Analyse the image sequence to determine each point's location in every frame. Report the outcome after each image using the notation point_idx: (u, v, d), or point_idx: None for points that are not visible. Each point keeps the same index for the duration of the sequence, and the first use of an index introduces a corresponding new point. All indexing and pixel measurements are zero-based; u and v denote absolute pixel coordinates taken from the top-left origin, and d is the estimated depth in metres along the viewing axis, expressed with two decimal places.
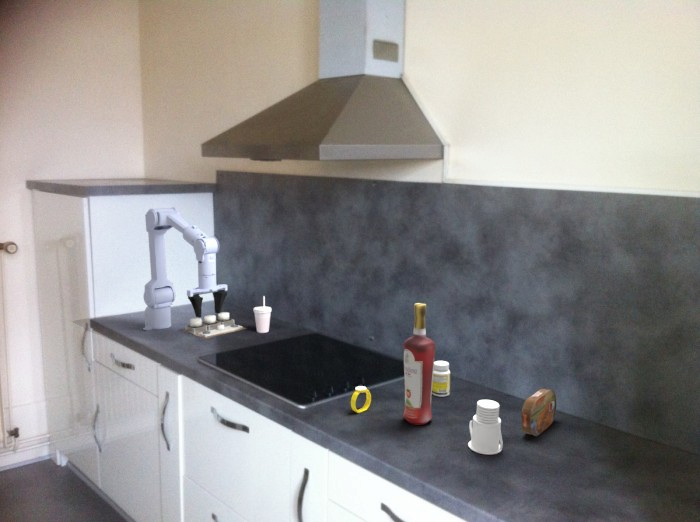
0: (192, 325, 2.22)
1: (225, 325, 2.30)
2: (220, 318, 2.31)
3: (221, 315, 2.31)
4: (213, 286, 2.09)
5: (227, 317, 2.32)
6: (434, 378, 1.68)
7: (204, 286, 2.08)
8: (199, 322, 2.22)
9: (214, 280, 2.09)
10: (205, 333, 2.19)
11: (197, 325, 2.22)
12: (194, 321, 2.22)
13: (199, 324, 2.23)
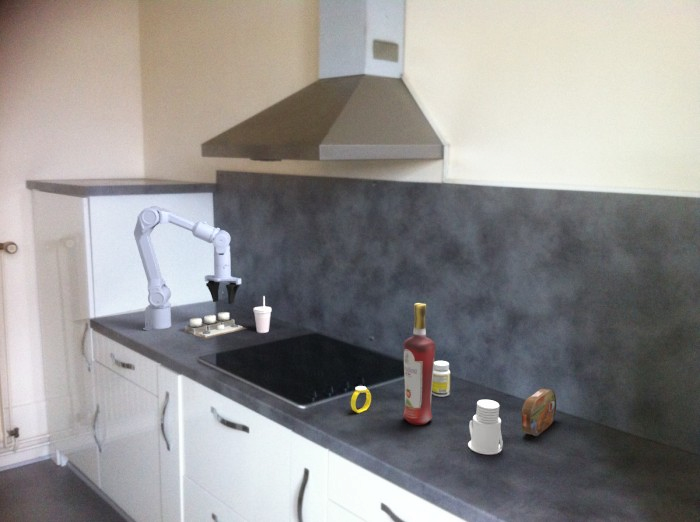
0: (192, 325, 2.22)
1: (225, 325, 2.30)
2: (220, 318, 2.31)
3: (221, 315, 2.31)
4: (218, 276, 2.28)
5: (227, 317, 2.32)
6: (434, 378, 1.68)
7: (214, 275, 2.30)
8: (199, 322, 2.22)
9: (220, 271, 2.27)
10: (205, 333, 2.19)
11: (197, 325, 2.22)
12: (194, 321, 2.22)
13: (199, 324, 2.23)
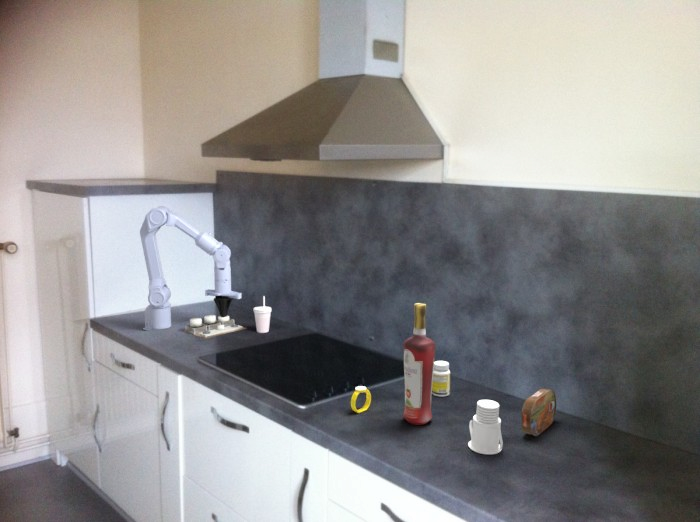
0: (192, 325, 2.22)
1: (225, 325, 2.30)
2: None
3: (221, 318, 2.31)
4: (219, 291, 2.29)
5: (227, 320, 2.32)
6: (434, 378, 1.68)
7: None
8: (199, 322, 2.22)
9: (220, 286, 2.28)
10: (205, 333, 2.19)
11: (197, 325, 2.22)
12: (194, 321, 2.22)
13: (199, 324, 2.23)
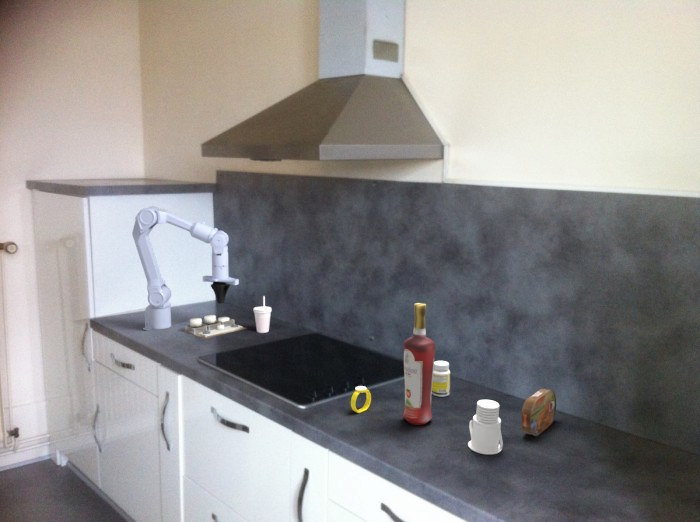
0: (192, 325, 2.22)
1: (225, 325, 2.30)
2: None
3: (221, 320, 2.31)
4: (216, 277, 2.27)
5: None
6: (434, 378, 1.68)
7: (212, 275, 2.29)
8: (199, 322, 2.22)
9: (217, 271, 2.27)
10: (205, 333, 2.19)
11: (197, 325, 2.22)
12: (194, 321, 2.22)
13: (199, 324, 2.23)
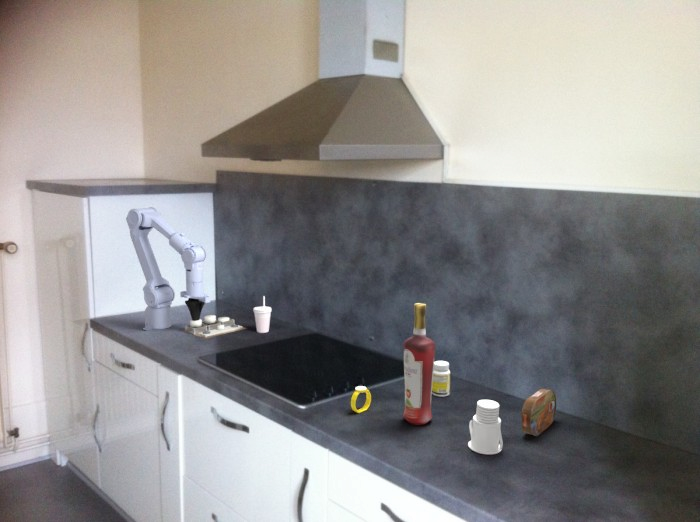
0: (192, 326, 2.22)
1: (225, 325, 2.30)
2: None
3: (221, 320, 2.31)
4: (188, 293, 2.20)
5: None
6: (434, 378, 1.68)
7: None
8: (199, 323, 2.22)
9: (189, 288, 2.19)
10: (205, 333, 2.19)
11: (197, 326, 2.22)
12: (194, 322, 2.22)
13: (199, 325, 2.23)
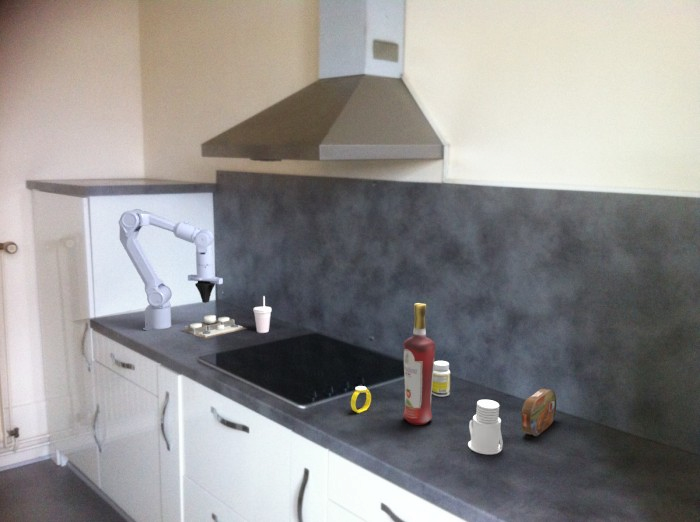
0: None
1: (225, 325, 2.30)
2: None
3: (221, 320, 2.31)
4: (200, 276, 2.26)
5: None
6: (434, 378, 1.68)
7: None
8: None
9: (201, 270, 2.26)
10: (205, 333, 2.19)
11: None
12: (194, 326, 2.22)
13: None
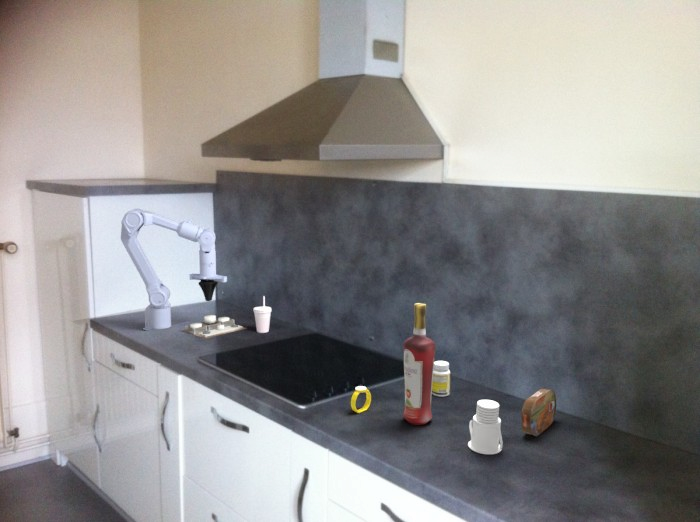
0: None
1: (225, 325, 2.30)
2: None
3: (221, 320, 2.31)
4: (204, 274, 2.28)
5: None
6: (434, 378, 1.68)
7: None
8: None
9: (205, 269, 2.28)
10: (205, 333, 2.19)
11: None
12: (194, 326, 2.22)
13: None
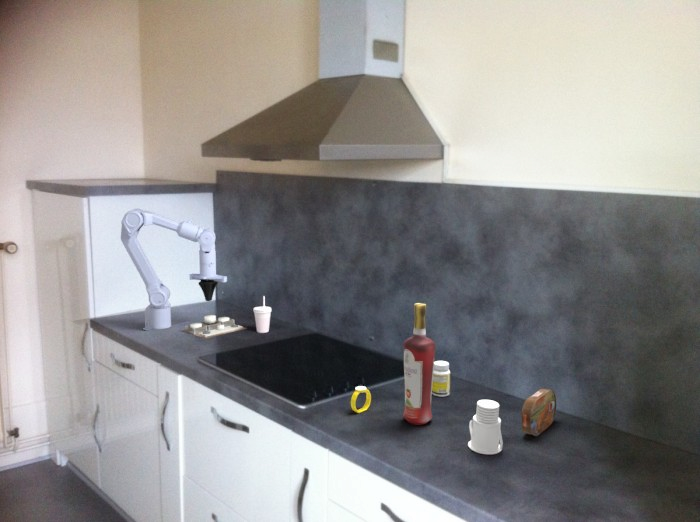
0: None
1: (225, 325, 2.30)
2: None
3: (221, 320, 2.31)
4: (204, 274, 2.28)
5: None
6: (434, 378, 1.68)
7: None
8: None
9: (205, 269, 2.28)
10: (205, 333, 2.19)
11: None
12: (194, 326, 2.22)
13: None
